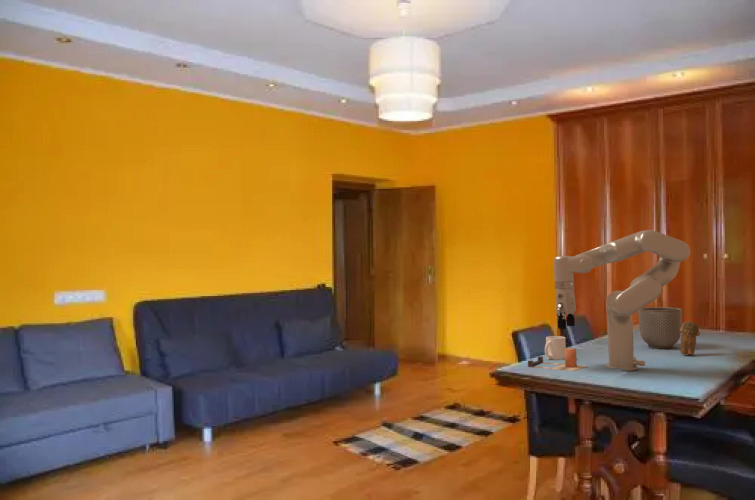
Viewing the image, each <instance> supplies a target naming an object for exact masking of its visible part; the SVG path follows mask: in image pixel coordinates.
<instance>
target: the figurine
mask: <svg viewBox="0 0 755 500" xmlns="http://www.w3.org/2000/svg"><path fill="white" fill-rule="evenodd" d="M680 331H681V335H680V351H679V352H680V353H681V354H683V355H689V356H693V355H695V351H696V344H697V337H698V336H700V335H701V332H700V329H699V326H698V324H697V323H695V322H693V321H691V320H688V321H685V322H682V326H681V328H680Z"/></svg>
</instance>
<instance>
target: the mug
mask: <svg viewBox="0 0 755 500" xmlns="http://www.w3.org/2000/svg"><path fill="white" fill-rule="evenodd" d="M566 344H567V343H566V337H565V336H560V335H559V336H558V335H549V336H546V337H545V344H544V355H545V356H546V359H549V360H565V349H567V346H566Z"/></svg>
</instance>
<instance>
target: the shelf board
mask: <svg viewBox="0 0 755 500" xmlns="http://www.w3.org/2000/svg"><path fill="white" fill-rule="evenodd" d="M538 364H545V365H555V367H547V366H546V367H545V366H537V365H538ZM585 367H586V365H579V364H577V367H565V363H558V362H557V363H554V362H544V356H537V360H535V361H534V360H528V361H527V368H535V369H536V368H537V369H548V370H560V371H569V372H570V371H571V372H577V371H579V370H581V369H583V368H585Z"/></svg>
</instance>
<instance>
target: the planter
mask: <svg viewBox="0 0 755 500" xmlns="http://www.w3.org/2000/svg"><path fill="white" fill-rule="evenodd" d="M637 318H638V326H639V333H640V336H641V339H642V341H644V342H645V343H646V344H647V346H648V347H649V348H650V349H654V348H655V349H657V350H671V349H673V348H674V345H675V344H677V343H678V342H679V341H680V340H681V335H682V333H681V331H680V328H681V326H682V324H683V322H682V321H683V309H682V308H678V307H666V306H665V307H664V306H662V307H661V306H655V307H654V306H651V307H649V306H648V307H647V306H645V307H644V308H642V309H640V310H639V311H637ZM655 349H654V350H655Z"/></svg>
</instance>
